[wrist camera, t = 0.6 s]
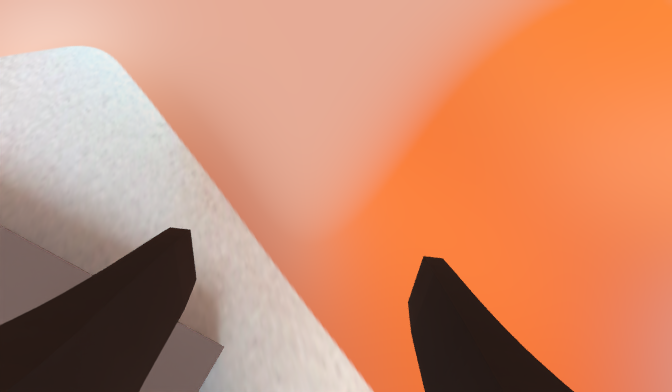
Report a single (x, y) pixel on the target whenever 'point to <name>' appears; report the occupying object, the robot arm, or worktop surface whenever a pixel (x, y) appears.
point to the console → (59, 276)
